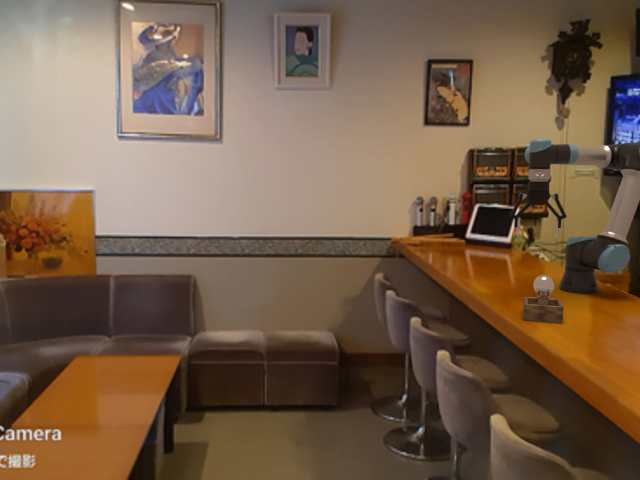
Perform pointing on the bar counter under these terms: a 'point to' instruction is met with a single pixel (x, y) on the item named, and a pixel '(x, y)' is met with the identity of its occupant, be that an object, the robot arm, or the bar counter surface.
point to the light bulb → (543, 288)
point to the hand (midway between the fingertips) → (536, 236)
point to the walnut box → (543, 310)
